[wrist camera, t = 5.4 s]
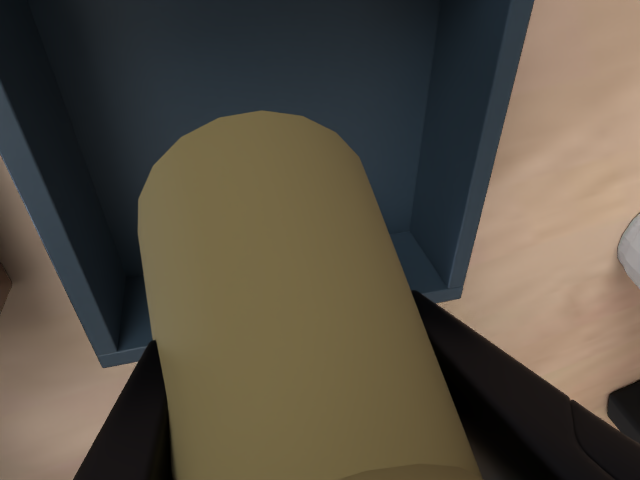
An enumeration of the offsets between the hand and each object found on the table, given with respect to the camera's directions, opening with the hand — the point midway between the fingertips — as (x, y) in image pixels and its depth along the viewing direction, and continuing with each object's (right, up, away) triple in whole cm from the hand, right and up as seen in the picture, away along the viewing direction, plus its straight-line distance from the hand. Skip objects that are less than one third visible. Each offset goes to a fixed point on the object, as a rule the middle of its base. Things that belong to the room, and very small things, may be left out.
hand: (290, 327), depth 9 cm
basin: (-2, +7, +10) cm, 13 cm away
